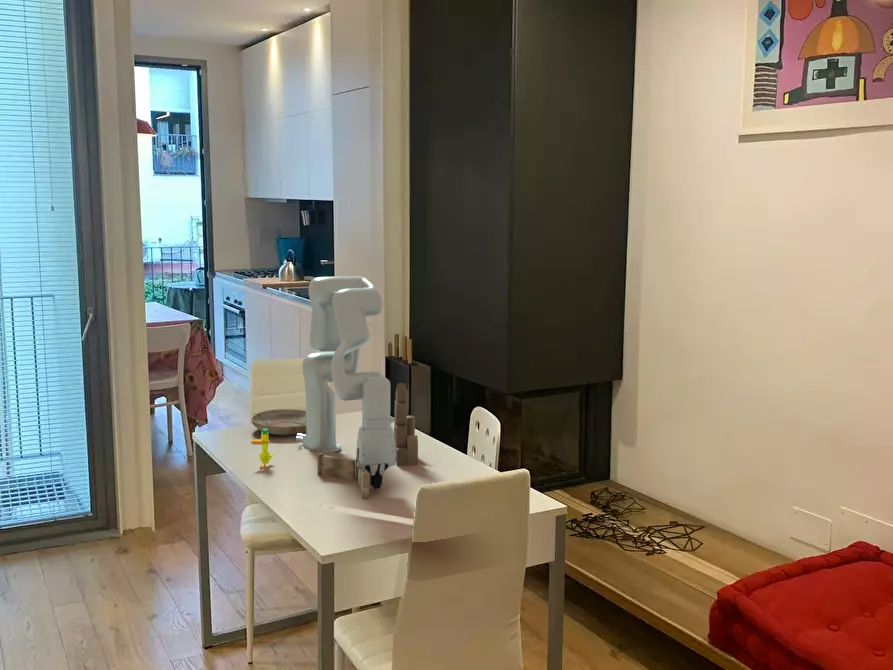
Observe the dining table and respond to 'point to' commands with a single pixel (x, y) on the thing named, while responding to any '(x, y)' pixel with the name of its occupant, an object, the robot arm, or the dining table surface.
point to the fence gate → (363, 483)
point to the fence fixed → (337, 467)
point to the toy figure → (263, 448)
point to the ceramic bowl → (281, 421)
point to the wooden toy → (404, 431)
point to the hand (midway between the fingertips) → (376, 487)
